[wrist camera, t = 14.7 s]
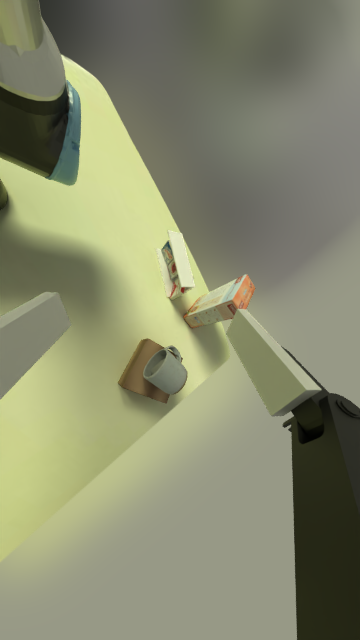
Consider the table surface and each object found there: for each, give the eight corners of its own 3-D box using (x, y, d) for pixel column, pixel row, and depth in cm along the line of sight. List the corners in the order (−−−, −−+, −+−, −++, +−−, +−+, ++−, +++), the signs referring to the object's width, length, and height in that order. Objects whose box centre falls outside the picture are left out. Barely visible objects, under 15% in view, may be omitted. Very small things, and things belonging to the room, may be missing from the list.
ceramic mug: (163, 392, 33) (180, 401, 27) (138, 375, 31) (151, 380, 25) (182, 356, 39) (200, 357, 33) (162, 339, 36) (178, 336, 30)
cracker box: (191, 329, 50) (244, 317, 33) (182, 317, 49) (231, 298, 32) (207, 307, 58) (257, 288, 41) (199, 296, 56) (247, 272, 39)
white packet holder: (155, 248, 48) (167, 229, 41) (168, 251, 52) (182, 233, 44) (167, 300, 47) (182, 290, 39) (180, 300, 50) (196, 290, 42)
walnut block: (117, 382, 33) (122, 387, 28) (140, 340, 39) (148, 338, 34) (156, 397, 38) (166, 403, 33) (172, 357, 43) (182, 358, 39)
